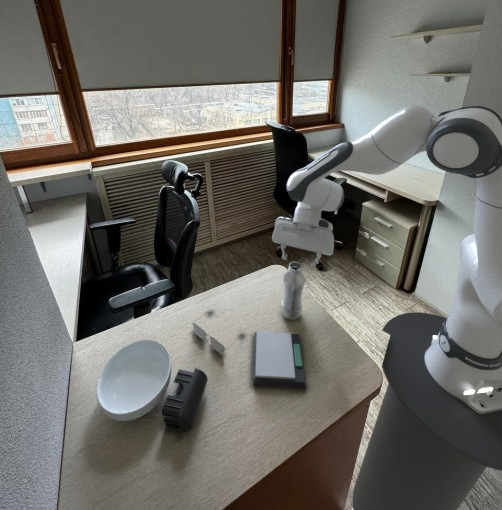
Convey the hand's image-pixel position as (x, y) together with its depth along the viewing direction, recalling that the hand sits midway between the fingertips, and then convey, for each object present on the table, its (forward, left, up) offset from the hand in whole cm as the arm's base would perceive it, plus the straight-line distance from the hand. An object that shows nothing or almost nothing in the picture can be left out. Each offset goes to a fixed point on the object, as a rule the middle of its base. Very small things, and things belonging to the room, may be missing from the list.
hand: (298, 262), depth 86 cm
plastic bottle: (+2, +6, -17) cm, 18 cm away
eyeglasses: (+25, +14, -17) cm, 33 cm away
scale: (+7, +21, -16) cm, 27 cm away
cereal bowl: (+42, +30, -17) cm, 54 cm away
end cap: (+29, +33, -17) cm, 47 cm away
